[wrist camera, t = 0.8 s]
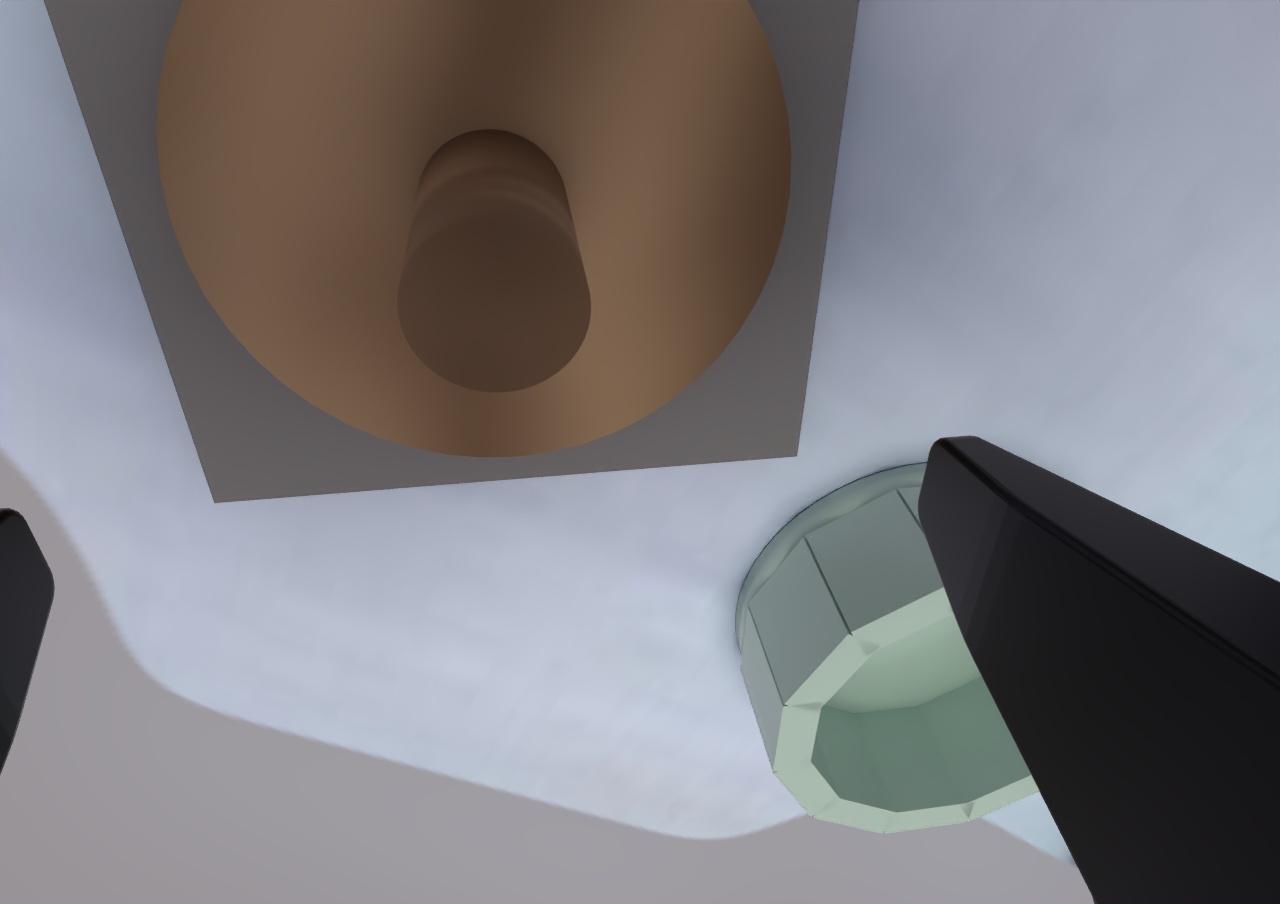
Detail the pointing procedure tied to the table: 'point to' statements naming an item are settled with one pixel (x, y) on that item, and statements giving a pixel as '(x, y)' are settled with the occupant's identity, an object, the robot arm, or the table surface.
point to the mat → (358, 461)
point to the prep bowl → (870, 669)
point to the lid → (477, 203)
